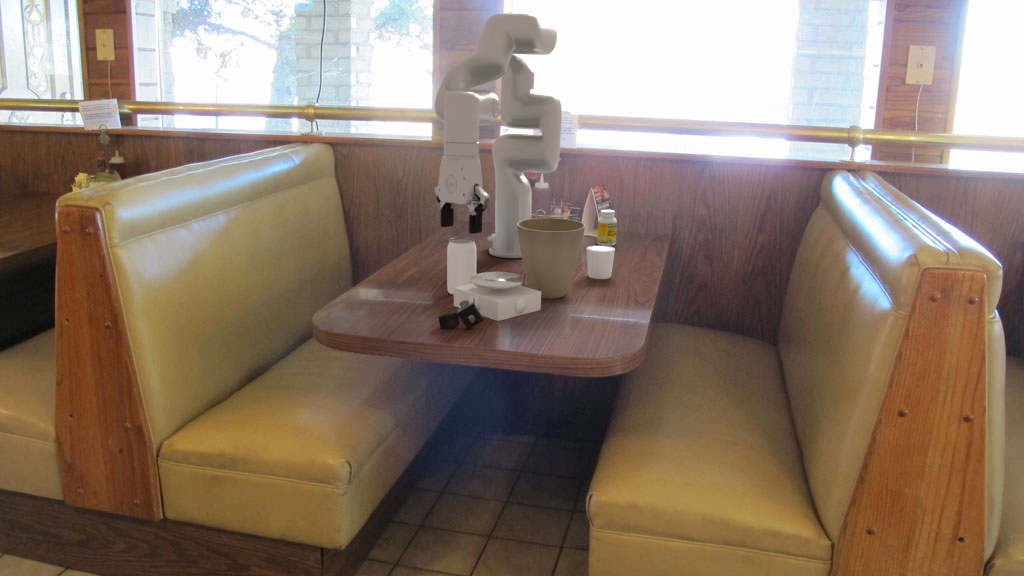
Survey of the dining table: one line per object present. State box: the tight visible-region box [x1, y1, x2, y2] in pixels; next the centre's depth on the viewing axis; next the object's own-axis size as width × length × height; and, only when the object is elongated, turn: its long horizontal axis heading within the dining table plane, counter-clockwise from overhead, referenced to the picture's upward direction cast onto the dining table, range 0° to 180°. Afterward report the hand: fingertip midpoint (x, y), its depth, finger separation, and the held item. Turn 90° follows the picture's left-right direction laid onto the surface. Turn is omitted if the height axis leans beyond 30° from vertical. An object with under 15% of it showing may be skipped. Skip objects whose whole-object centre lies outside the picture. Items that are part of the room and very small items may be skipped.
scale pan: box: [471, 271, 525, 289], centre depth 176 cm, size 11×11×2 cm
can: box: [446, 236, 478, 296], centre depth 187 cm, size 6×6×12 cm
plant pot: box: [517, 217, 586, 299], centre depth 186 cm, size 15×15×16 cm
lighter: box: [438, 300, 485, 330], centre depth 163 cm, size 8×2×5 cm
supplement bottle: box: [596, 209, 618, 247], centre depth 238 cm, size 5×5×10 cm
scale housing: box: [453, 284, 542, 322], centre depth 176 cm, size 14×12×4 cm
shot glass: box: [586, 244, 616, 280], centre depth 203 cm, size 7×7×7 cm
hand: (461, 229), depth 184 cm, fingers open, 9 cm apart
